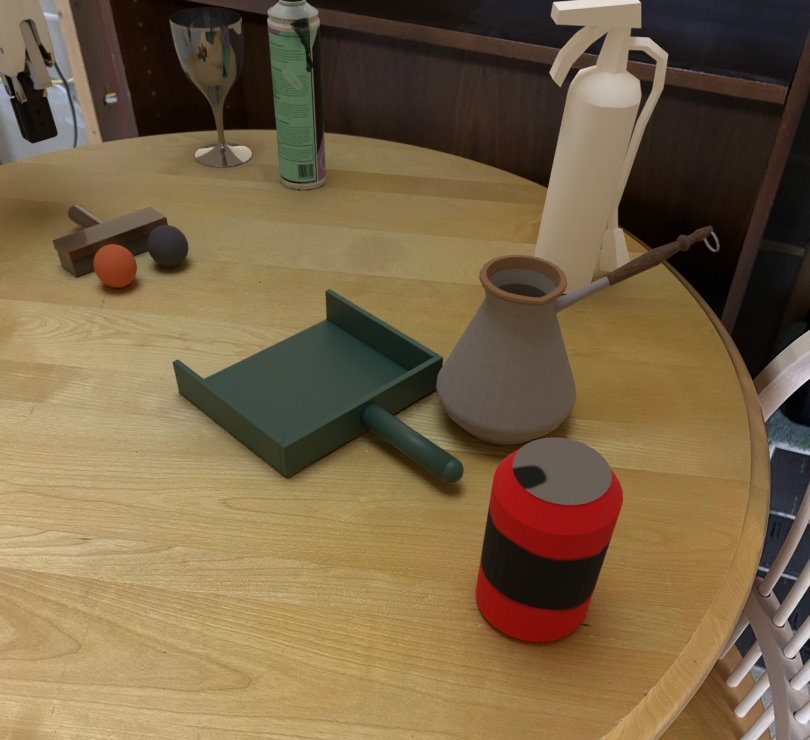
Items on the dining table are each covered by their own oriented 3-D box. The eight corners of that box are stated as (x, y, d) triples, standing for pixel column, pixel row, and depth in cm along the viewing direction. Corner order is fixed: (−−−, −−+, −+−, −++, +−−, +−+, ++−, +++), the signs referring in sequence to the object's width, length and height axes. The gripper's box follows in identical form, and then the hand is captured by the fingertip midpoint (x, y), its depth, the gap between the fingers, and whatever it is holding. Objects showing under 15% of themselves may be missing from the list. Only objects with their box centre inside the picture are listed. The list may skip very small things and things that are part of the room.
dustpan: (178, 392, 69) (171, 361, 66) (331, 318, 77) (329, 288, 75) (376, 550, 57) (376, 519, 55) (529, 443, 66) (535, 412, 63)
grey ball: (144, 263, 83) (135, 226, 80) (177, 250, 85) (170, 213, 82) (165, 278, 81) (158, 241, 78) (199, 265, 83) (192, 228, 80)
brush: (31, 244, 85) (22, 218, 83) (125, 212, 90) (119, 187, 88) (76, 278, 80) (68, 252, 78) (171, 242, 86) (166, 216, 84)
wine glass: (178, 160, 100) (154, 21, 88) (213, 137, 105) (194, 3, 93) (234, 173, 98) (217, 32, 87) (267, 149, 103) (254, 13, 92)
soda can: (458, 572, 56) (475, 440, 47) (555, 547, 58) (589, 417, 49) (502, 658, 51) (530, 530, 42) (606, 629, 53) (654, 500, 44)
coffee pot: (459, 471, 63) (479, 300, 52) (416, 384, 70) (426, 219, 59) (698, 428, 68) (763, 263, 57) (635, 351, 75) (681, 191, 64)
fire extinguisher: (636, 295, 82) (715, 10, 63) (519, 297, 81) (564, 8, 62) (619, 262, 86) (687, -14, 68) (508, 263, 85) (546, -16, 67)
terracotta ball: (91, 283, 80) (80, 245, 77) (126, 270, 82) (117, 232, 79) (112, 300, 78) (102, 261, 75) (148, 285, 80) (140, 247, 77)
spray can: (335, 180, 97) (329, -16, 82) (302, 194, 94) (289, -6, 80) (304, 166, 100) (292, -27, 85) (271, 179, 97) (253, -17, 82)
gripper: (-106, -88, 72) (-26, 126, 86) (-31, -57, 65) (42, 171, 79) (-25, -100, 76) (39, 108, 89) (54, -72, 69) (110, 149, 82)
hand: (40, 137), depth 84 cm, fingers closed
